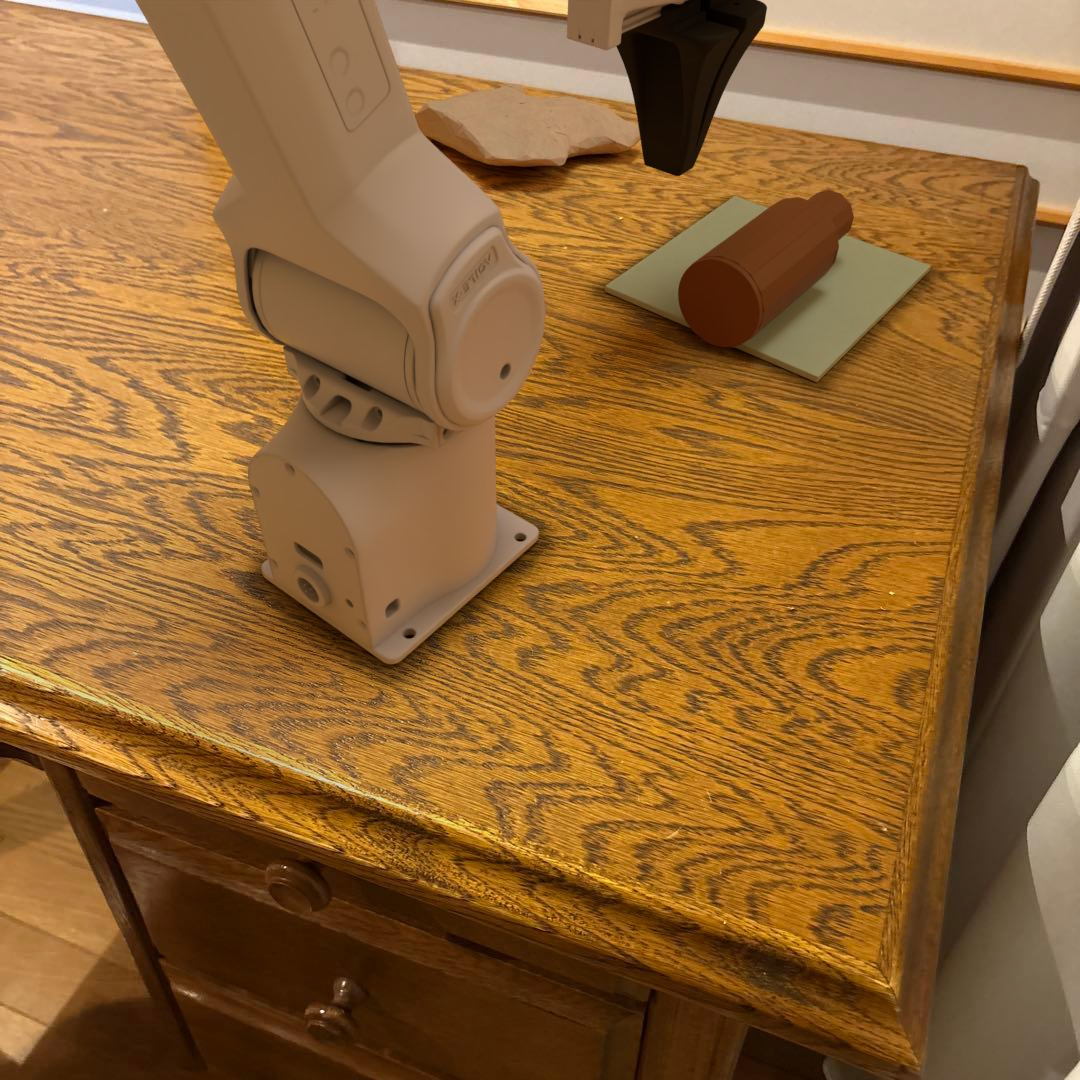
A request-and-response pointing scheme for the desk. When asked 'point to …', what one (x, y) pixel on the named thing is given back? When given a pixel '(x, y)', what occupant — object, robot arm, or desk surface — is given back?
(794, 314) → the mat
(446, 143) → the stone
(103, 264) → the desk surface
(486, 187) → the desk surface
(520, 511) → the desk surface
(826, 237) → the bottle
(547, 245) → the desk surface
